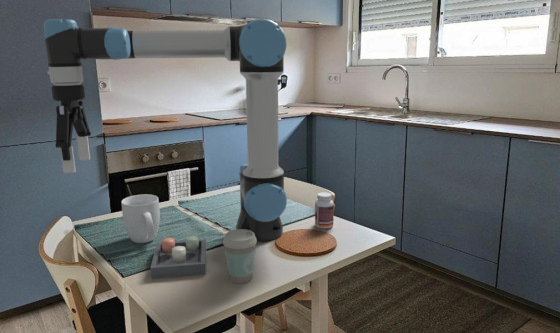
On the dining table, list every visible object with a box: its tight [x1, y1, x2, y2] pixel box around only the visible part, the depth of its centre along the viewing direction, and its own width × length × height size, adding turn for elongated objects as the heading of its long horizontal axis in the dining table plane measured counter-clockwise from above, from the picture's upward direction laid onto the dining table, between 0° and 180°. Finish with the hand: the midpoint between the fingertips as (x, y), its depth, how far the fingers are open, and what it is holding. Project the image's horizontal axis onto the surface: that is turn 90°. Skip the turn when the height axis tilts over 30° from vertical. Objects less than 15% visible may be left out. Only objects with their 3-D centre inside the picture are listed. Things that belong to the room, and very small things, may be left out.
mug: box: [120, 193, 161, 244], centre depth 137 cm, size 15×11×13 cm
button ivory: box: [172, 246, 186, 263], centre depth 120 cm, size 4×4×3 cm
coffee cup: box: [222, 228, 258, 284], centre depth 114 cm, size 8×8×12 cm
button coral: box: [160, 237, 176, 254], centre depth 125 cm, size 4×4×3 cm
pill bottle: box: [314, 191, 335, 230], centre depth 148 cm, size 6×6×11 cm
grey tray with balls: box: [150, 239, 207, 279], centre depth 124 cm, size 14×16×3 cm
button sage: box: [184, 235, 200, 252], centre depth 126 cm, size 4×4×3 cm
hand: (77, 165), depth 117 cm, fingers open, 13 cm apart
